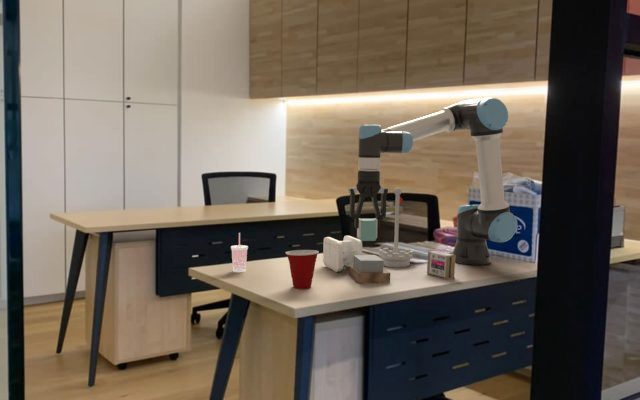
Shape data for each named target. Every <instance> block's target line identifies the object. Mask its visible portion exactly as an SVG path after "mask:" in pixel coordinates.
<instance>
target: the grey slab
mask: <svg viewBox="0 0 640 400" xmlns="http://www.w3.org/2000/svg"><path fill="white" fill-rule="evenodd" d="M384 266H385V265H384V260H382V259H381V257H380V256H379V255H376V254H362V255H354V261H353V267H355V268H356V269H357V270H358V271H359V272H383V268H384Z"/></svg>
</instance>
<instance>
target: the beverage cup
mask: <svg viewBox="0 0 640 400" xmlns="http://www.w3.org/2000/svg"><path fill="white" fill-rule="evenodd" d="M248 249H249V246H248V245H245V244H244V245H243V244H241V232H238V245H237V244H236V245H235V244H234V245H231V246H230V250H231V259H232V260H231V261H232V271H233V273H245V272H246V271H247V258H248V256H247V255H248Z"/></svg>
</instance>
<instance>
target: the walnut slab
mask: <svg viewBox="0 0 640 400" xmlns="http://www.w3.org/2000/svg"><path fill="white" fill-rule="evenodd" d="M348 269H349V272H348V273H349V274H348V275H349V277H350V278H351V279H353V280H354V281H355V282H356V283H357V284H358V285H362V284H363V285H365V284H366V285H367V284H368V285H369V284H391V272H390V271H389V270H387V269H385V268H384V267H383V272H359V271H358V270H357V269H356V268H355V267H353V266H349V268H348Z"/></svg>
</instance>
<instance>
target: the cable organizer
mask: <svg viewBox="0 0 640 400" xmlns="http://www.w3.org/2000/svg"><path fill="white" fill-rule="evenodd" d="M322 246H323V248H322V249H323V251H322V252H323V253H322V255H323V256H322V257H323V259H322V261H323V262H322V263H323V265H324V266H326V268H327V269H330V270H332V271H333V272H335V273H339V272H342V271H343V269H344V268H345V266H347V268H348V267H349V266H353V261H354V255H363V241H361V240H360V239H358V237H354V236H351V235H344V237H343V240H338V239H335V238H333V237H331V236H326V237H323V245H322Z"/></svg>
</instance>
